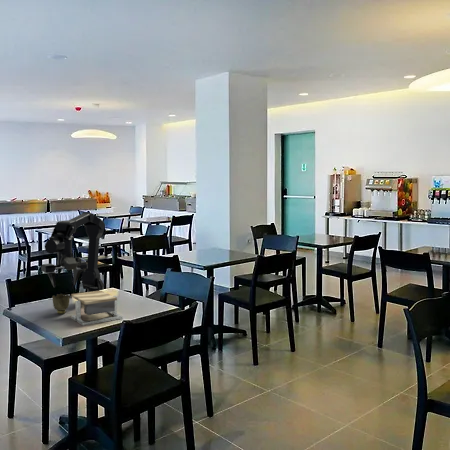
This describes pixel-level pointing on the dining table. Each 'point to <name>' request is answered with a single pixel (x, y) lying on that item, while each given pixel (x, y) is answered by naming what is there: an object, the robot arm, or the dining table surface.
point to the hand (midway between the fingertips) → (64, 286)
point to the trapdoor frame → (78, 319)
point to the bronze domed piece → (61, 302)
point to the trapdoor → (96, 302)
